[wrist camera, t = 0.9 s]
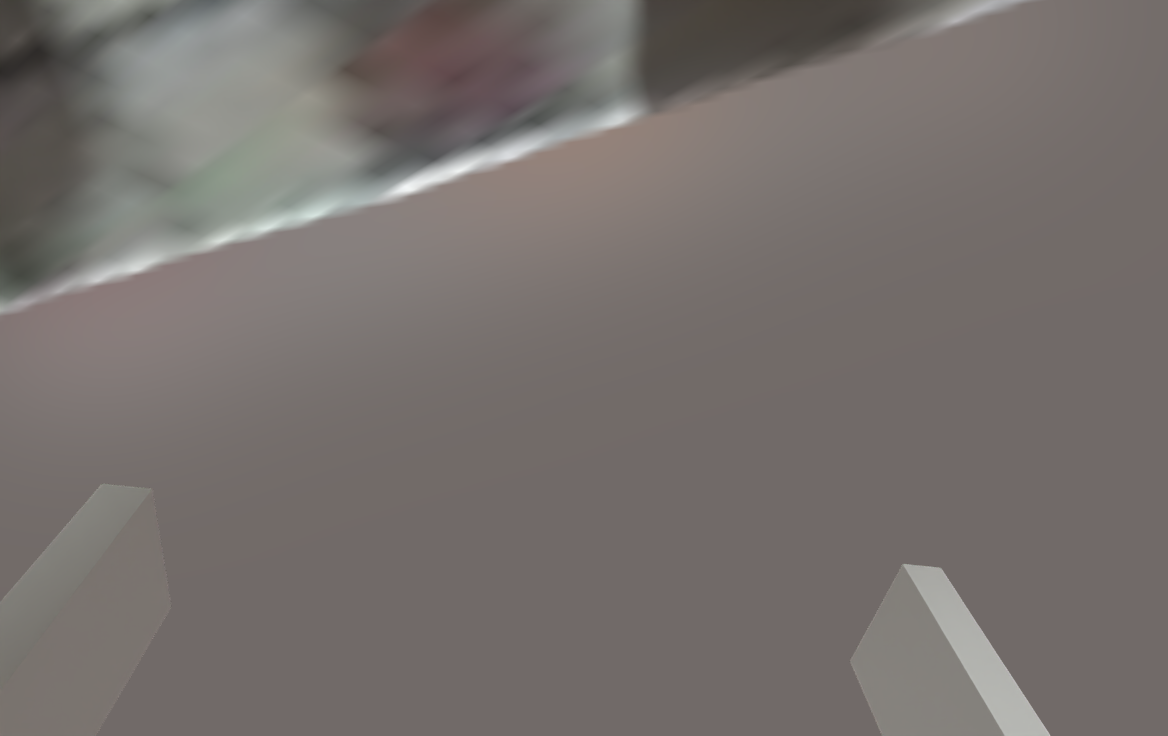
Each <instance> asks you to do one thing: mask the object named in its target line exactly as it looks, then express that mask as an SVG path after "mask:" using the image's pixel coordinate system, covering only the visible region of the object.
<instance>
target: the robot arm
mask: <svg viewBox="0 0 1168 736" xmlns="http://www.w3.org/2000/svg"><path fill="white" fill-rule="evenodd" d="M170 608H171V601H170V595H169V589H168V582H167V576H166V570H165V564H164V558H163V552H162V545H161V540H160V533H159V527H158V520H157V515H156V508H155V502H154V496H153V489H149V488H139V487H129V486H119V485H110V484H101V486H100V487H99V488H98V489H97V490H96V491H95V492H94V493H93V495H92V496H91V497H90V498H89V499H88V501H87V502H86V503H85V504H84V505H83V506H82V507H81V509H80V510H79V511H78V512H77V513H76V514H75V516H74V517H73V518H72V519H71V520H70V521H69V523H68V524H67V525H66V526H65V527H64V529H63V530H62V531H61V532H60V533H59V534H58V535H57V537H56V538H55V539H54V540H53V541H52V542H51V544H50V545H49V546H48V547H47V548H46V550H45V551H44V552H43V553H42V554H41V555H40V557H39V558H38V559H37V560H36V561H35V562H34V563H33V565H32V566H31V567H30V568H29V569H28V570H27V572H26V573H25V574H24V575H23V576H22V577H21V579H20V580H19V581H18V582H17V583H16V584H15V586H14V587H13V588H12V589H11V590H10V591H9V593H8V594H7V595H6V596H5V597H4V598H3V599H2V601H1V602H0V736H96V735H97V733H98V731H99V729H100V728H101V726H102V724H103V722H104V721H105V719H106V717H107V716H108V714H109V712H110V711H111V709H112V707H113V705H114V704H115V702H116V700H117V699H118V696H119V695H120V694H121V692H122V690H123V688H124V687H125V685H126V683H127V681H128V680H129V678H130V676H131V675H132V673H133V671H134V669H135V668H136V666H137V665H138V663H139V661H140V659H141V658H142V656H143V654H144V653H145V651H146V649H147V647H148V646H149V644H150V642H151V641H152V638H153V637H154V636H155V634H156V632H157V630H158V629H159V627H160V625H161V623H162V622H163V620H164V618H165V617H166V615H167V613H168V612H169V610H170ZM850 663H851V665H852V667H853V670H854V672H855V674H856V677H857V679H858V681H859V684H860V686H861V688H862V691H863V693H864V695H865V697H866V700H867V702H868V704H869V707H870V709H871V711H872V714H873V716H874V718H875V720H876V723H877V725H878V727H879V730H880V732H881V734H882V736H1050V735H1049V733H1048V731H1047V730H1046V728H1045V727H1044V725H1043V724H1042V722H1041V721H1040V719H1039V718H1038V716H1037V715H1036V713H1035V711H1034V710H1033V708H1032V707H1031V705H1030V704H1029V702H1028V701H1027V699H1026V698H1025V696H1024V695H1023V693H1022V691H1021V690H1020V689H1019V687H1018V685H1017V684H1016V682H1015V681H1014V679H1013V678H1012V676H1011V675H1010V673H1009V672H1008V670H1007V669H1006V667H1005V665H1004V664H1003V662H1002V661H1001V659H1000V658H999V656H998V655H997V653H996V652H995V650H994V649H993V647H992V646H991V644H990V643H989V641H988V639H987V638H986V636H985V635H984V633H983V632H982V630H981V629H980V627H979V626H978V624H977V623H976V621H975V620H974V618H973V617H972V615H971V613H970V612H969V610H968V609H967V607H966V606H965V604H964V603H963V601H962V600H961V598H960V596H959V595H958V593H957V592H956V590H955V589H954V587H953V586H952V584H951V583H950V581H949V580H948V578H947V577H946V575H945V573H944V572H943V570H942V569H941V568H938V567H927V566H918V565H908V564H903V565H902V566H901V568H900V570H899V572H898V574H897V576H896V577H895V579H894V581H893V583H892V585H891V587H890V588H889V590H888V592H887V594H886V596H885V598H884V600H883V601H882V603H881V605H880V607H879V609H878V611H877V613H876V614H875V616H874V618H873V620H872V622H871V623H870V625H869V627H868V629H867V631H866V633H865V634H864V637H863V638H862V640H861V642H860V644H859V646H858V647H857V649H856V651H855V653H854V655H853V656H852V658H851V660H850Z"/></svg>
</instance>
